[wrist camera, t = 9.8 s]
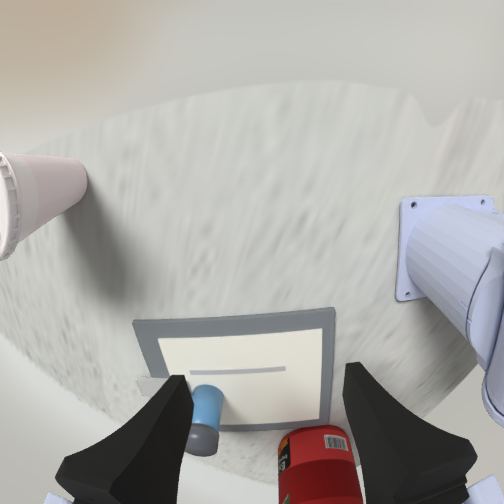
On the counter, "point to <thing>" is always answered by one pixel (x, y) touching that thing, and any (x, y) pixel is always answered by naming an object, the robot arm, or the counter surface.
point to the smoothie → (35, 194)
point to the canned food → (317, 467)
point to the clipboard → (248, 364)
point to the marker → (205, 421)
